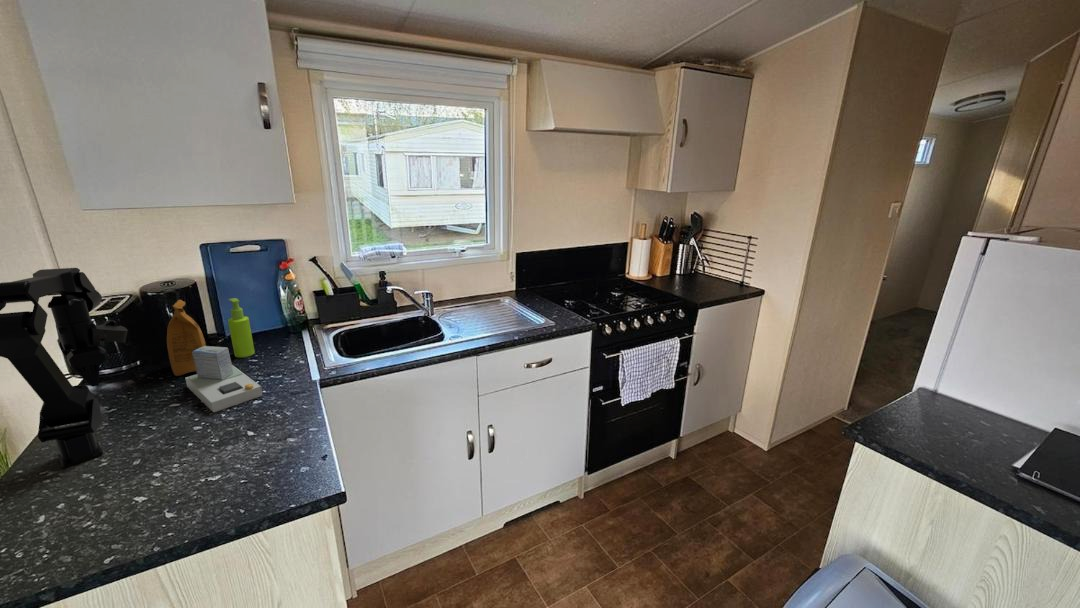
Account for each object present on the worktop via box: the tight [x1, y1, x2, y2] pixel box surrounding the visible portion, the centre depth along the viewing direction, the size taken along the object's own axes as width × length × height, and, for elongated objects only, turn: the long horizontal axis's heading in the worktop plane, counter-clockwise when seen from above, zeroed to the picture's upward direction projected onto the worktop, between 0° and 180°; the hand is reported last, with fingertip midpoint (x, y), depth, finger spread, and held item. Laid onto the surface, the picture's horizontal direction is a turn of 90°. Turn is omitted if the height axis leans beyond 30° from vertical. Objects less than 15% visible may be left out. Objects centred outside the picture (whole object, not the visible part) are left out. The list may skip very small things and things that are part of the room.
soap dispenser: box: [227, 297, 256, 358], centre depth 149 cm, size 6×7×20 cm
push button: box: [219, 382, 241, 395], centre depth 123 cm, size 4×4×3 cm
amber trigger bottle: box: [166, 299, 207, 377], centre depth 138 cm, size 10×12×22 cm
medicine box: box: [192, 345, 233, 379], centre depth 128 cm, size 8×4×9 cm, turn 85°
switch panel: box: [185, 364, 263, 413], centre depth 127 cm, size 22×12×4 cm, turn 52°
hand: (91, 379), depth 107 cm, fingers open, 9 cm apart
